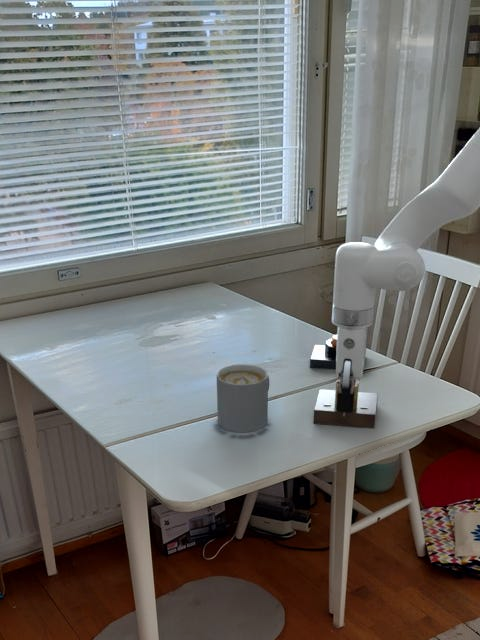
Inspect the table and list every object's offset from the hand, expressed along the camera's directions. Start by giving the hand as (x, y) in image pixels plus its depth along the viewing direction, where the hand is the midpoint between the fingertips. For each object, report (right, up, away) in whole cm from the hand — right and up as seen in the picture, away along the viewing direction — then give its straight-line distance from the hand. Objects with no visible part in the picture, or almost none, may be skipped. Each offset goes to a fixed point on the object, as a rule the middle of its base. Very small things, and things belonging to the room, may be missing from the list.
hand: (345, 404), depth 154 cm
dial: (0, 0, 0) cm, 0 cm away
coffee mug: (-19, -3, +3) cm, 20 cm away
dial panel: (0, -2, +4) cm, 4 cm away
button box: (+2, +14, +26) cm, 30 cm away
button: (+2, +18, +26) cm, 32 cm away
